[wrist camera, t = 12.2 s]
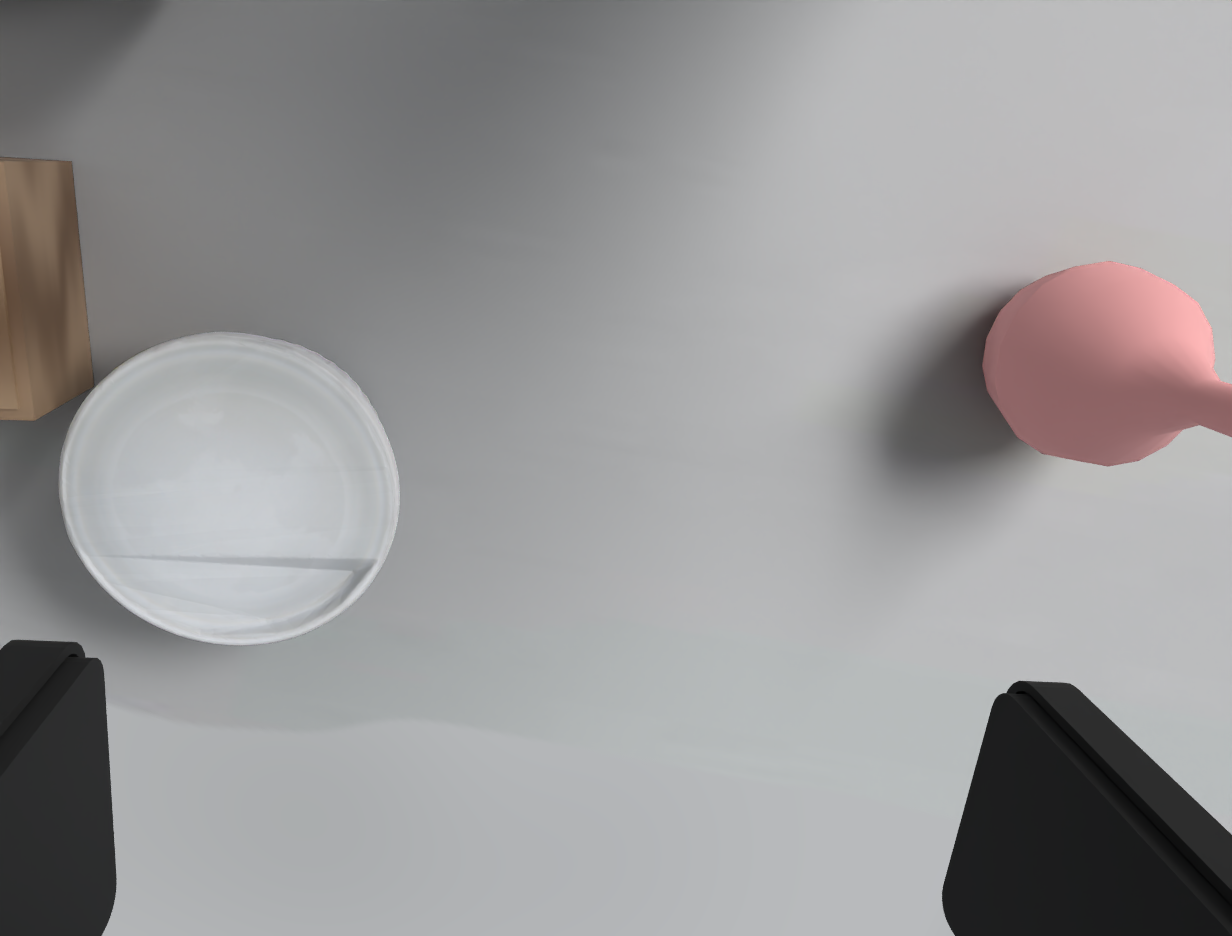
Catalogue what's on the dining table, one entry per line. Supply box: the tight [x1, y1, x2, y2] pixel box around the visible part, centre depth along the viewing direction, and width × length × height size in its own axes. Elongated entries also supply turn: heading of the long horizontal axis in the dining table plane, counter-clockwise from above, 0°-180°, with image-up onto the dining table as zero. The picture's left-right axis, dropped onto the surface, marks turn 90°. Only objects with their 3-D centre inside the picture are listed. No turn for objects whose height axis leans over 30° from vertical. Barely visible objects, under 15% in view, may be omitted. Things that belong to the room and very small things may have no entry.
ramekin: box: [58, 332, 400, 646], centre depth 35 cm, size 11×11×5 cm
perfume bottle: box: [982, 261, 1232, 466], centre depth 35 cm, size 8×8×12 cm
